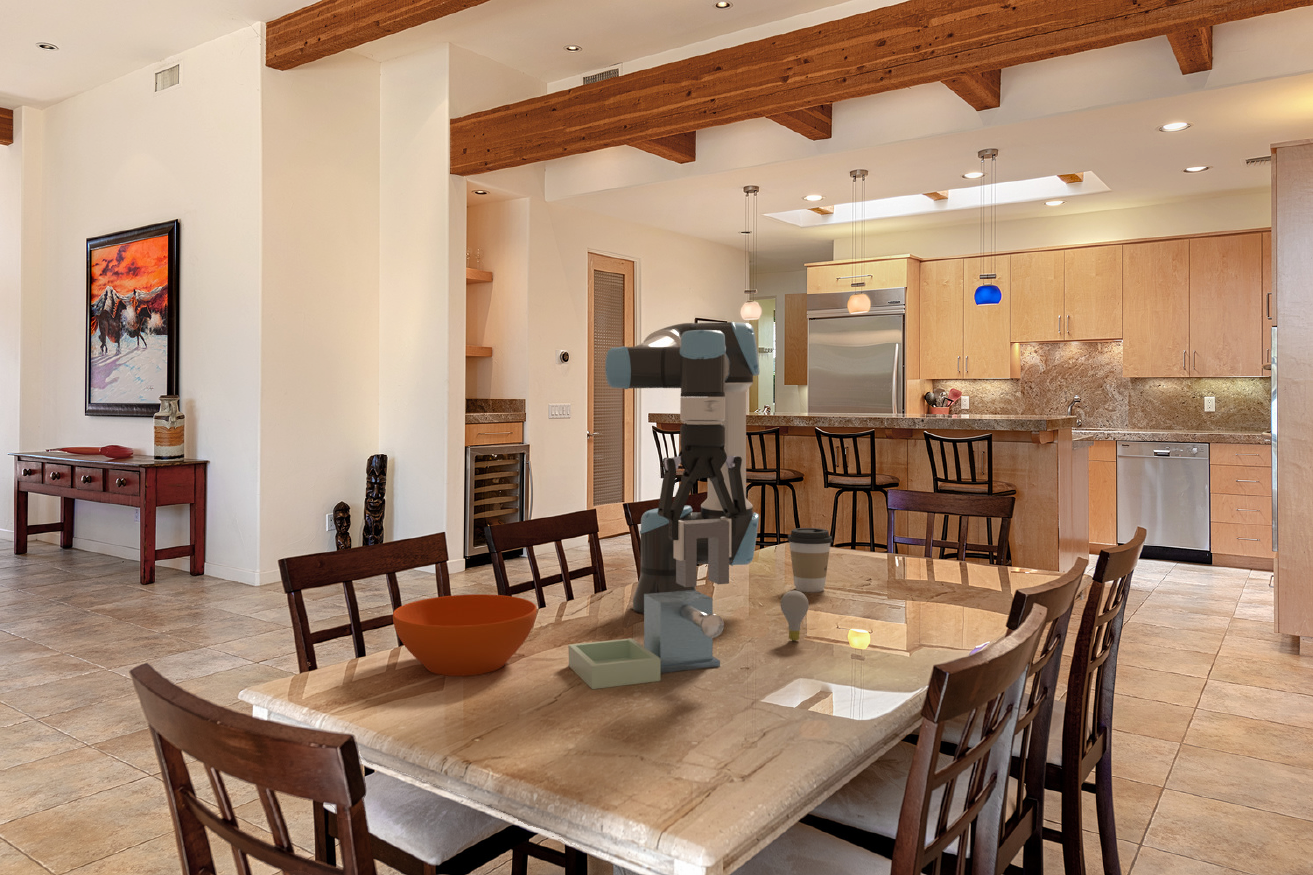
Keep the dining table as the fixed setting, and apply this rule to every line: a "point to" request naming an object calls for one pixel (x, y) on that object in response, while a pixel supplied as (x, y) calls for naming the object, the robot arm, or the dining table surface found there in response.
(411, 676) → the dining table surface
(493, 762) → the dining table surface
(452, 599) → the bowl
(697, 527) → the grey u-shaped block
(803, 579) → the coffee cup
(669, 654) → the blue knob box
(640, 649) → the tray
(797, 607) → the light bulb
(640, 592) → the robot arm
